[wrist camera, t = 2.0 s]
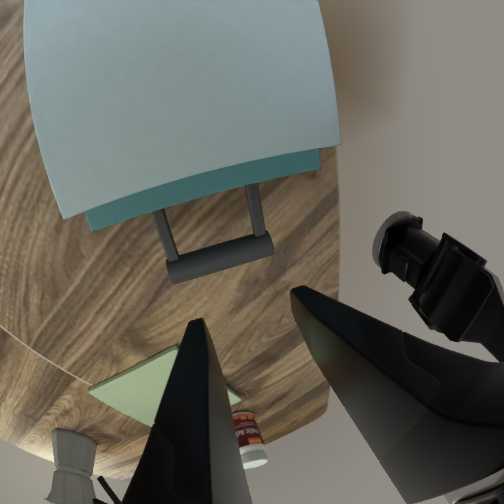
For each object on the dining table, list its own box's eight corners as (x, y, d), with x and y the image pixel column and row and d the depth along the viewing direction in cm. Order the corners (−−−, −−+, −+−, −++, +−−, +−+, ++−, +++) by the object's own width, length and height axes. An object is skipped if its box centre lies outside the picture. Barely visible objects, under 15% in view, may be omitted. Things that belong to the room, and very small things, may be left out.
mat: (175, 344, 25) (175, 349, 24) (241, 396, 32) (242, 400, 32) (87, 388, 25) (87, 392, 24) (161, 428, 32) (162, 432, 32)
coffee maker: (57, 444, 30) (58, 523, 15) (34, 424, 26) (30, 513, 11) (124, 450, 34) (137, 536, 19) (108, 432, 30) (118, 533, 15)
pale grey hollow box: (271, 130, 18) (342, 145, 10) (107, 174, 16) (63, 220, 9) (237, -39, 10) (281, -101, 3) (76, -4, 8) (33, -55, 1)
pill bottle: (253, 407, 35) (272, 455, 28) (253, 420, 37) (269, 464, 30) (221, 414, 33) (236, 464, 26) (224, 426, 36) (237, 471, 29)
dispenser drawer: (280, 217, 20) (326, 263, 15) (142, 257, 19) (136, 321, 13) (237, -23, 11) (272, -72, 5) (81, 12, 9) (45, -28, 3)
